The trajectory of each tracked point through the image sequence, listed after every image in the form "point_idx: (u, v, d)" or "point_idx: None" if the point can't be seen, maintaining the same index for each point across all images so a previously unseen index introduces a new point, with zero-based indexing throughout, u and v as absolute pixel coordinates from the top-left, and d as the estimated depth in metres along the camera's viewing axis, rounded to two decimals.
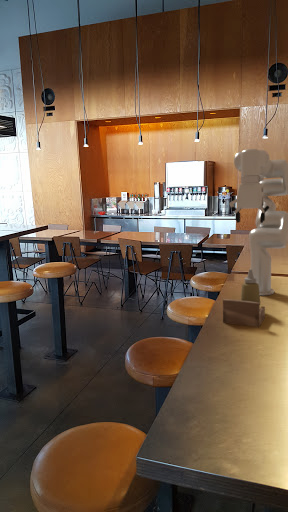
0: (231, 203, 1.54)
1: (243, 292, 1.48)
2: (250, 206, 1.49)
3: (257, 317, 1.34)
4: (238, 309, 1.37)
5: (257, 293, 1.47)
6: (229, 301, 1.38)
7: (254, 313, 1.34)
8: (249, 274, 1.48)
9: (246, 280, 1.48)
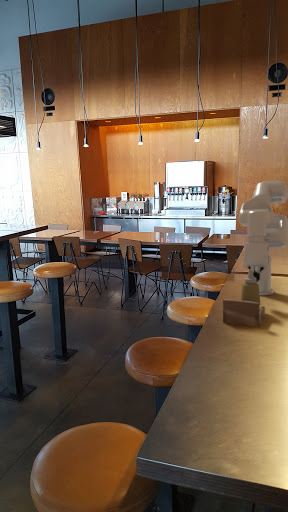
0: (245, 265, 1.59)
1: (243, 292, 1.48)
2: (256, 264, 1.55)
3: (257, 317, 1.34)
4: (238, 309, 1.37)
5: (257, 293, 1.47)
6: (229, 301, 1.38)
7: (254, 313, 1.34)
8: (249, 274, 1.48)
9: (246, 280, 1.48)
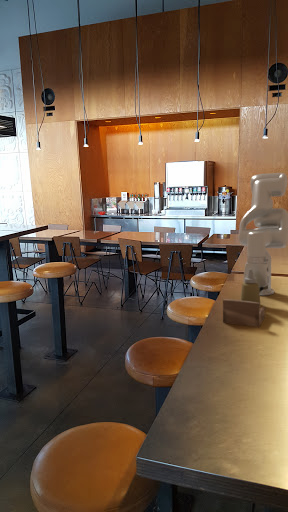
0: None
1: (243, 292, 1.48)
2: None
3: (257, 317, 1.34)
4: (238, 309, 1.37)
5: (257, 293, 1.47)
6: (229, 301, 1.38)
7: (254, 313, 1.34)
8: (249, 274, 1.48)
9: (246, 280, 1.48)
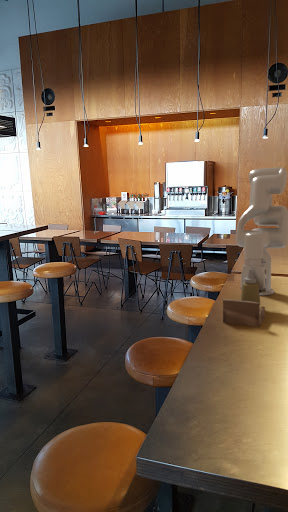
0: None
1: (243, 292, 1.48)
2: None
3: (257, 317, 1.34)
4: (238, 309, 1.37)
5: (257, 293, 1.47)
6: (229, 301, 1.38)
7: (254, 313, 1.34)
8: (249, 274, 1.48)
9: (246, 280, 1.48)
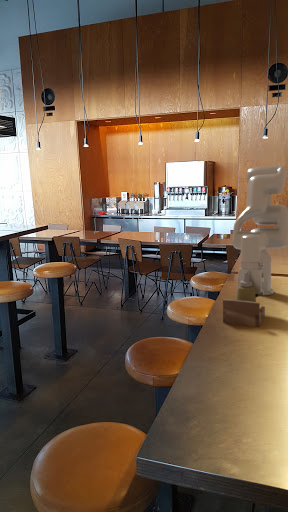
0: None
1: (238, 296, 1.44)
2: None
3: (257, 317, 1.34)
4: (238, 309, 1.37)
5: (252, 297, 1.42)
6: (229, 301, 1.38)
7: (254, 313, 1.34)
8: (244, 277, 1.43)
9: (241, 283, 1.43)
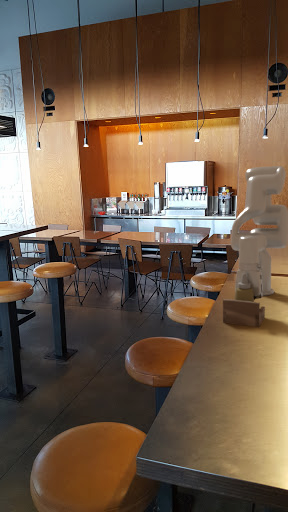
0: None
1: (236, 298, 1.41)
2: None
3: (257, 317, 1.34)
4: (238, 309, 1.37)
5: (251, 299, 1.39)
6: (229, 301, 1.38)
7: (254, 313, 1.34)
8: (243, 279, 1.40)
9: (239, 285, 1.40)
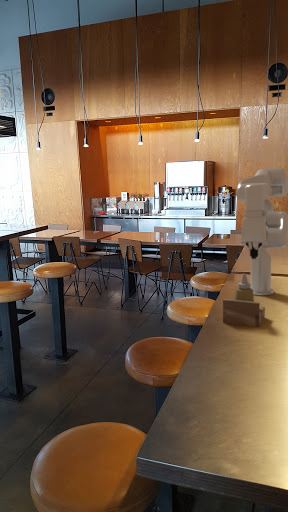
0: (242, 241, 1.53)
1: (236, 298, 1.41)
2: (254, 240, 1.50)
3: (257, 317, 1.34)
4: (238, 309, 1.37)
5: (251, 299, 1.39)
6: (229, 301, 1.38)
7: (254, 313, 1.34)
8: (243, 279, 1.40)
9: (239, 285, 1.40)
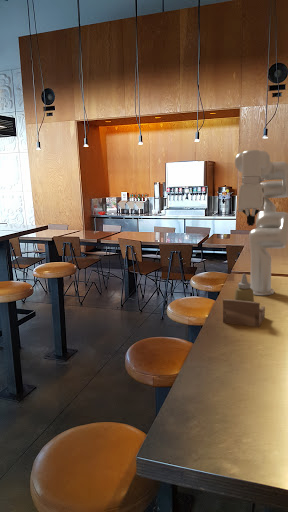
0: (239, 209, 1.54)
1: (236, 298, 1.41)
2: (251, 206, 1.50)
3: (257, 317, 1.34)
4: (238, 309, 1.37)
5: (251, 299, 1.39)
6: (229, 301, 1.38)
7: (254, 313, 1.34)
8: (243, 279, 1.40)
9: (239, 285, 1.40)
